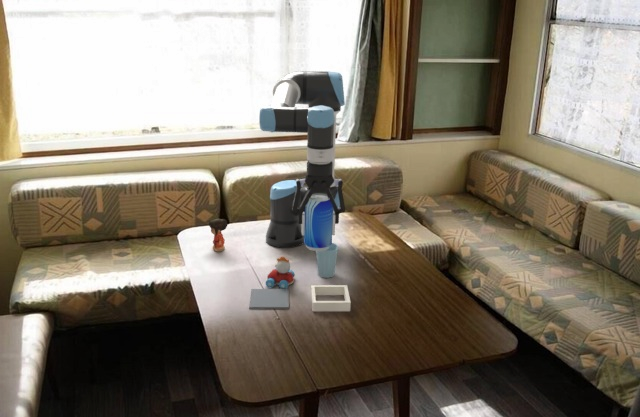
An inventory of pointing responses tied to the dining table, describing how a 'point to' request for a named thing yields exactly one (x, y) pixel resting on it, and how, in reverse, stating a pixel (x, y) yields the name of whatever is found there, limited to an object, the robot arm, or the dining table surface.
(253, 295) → the mat
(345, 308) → the pocket
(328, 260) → the cup
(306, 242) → the beer can
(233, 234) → the dining table surface
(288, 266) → the toy car
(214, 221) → the figurine
